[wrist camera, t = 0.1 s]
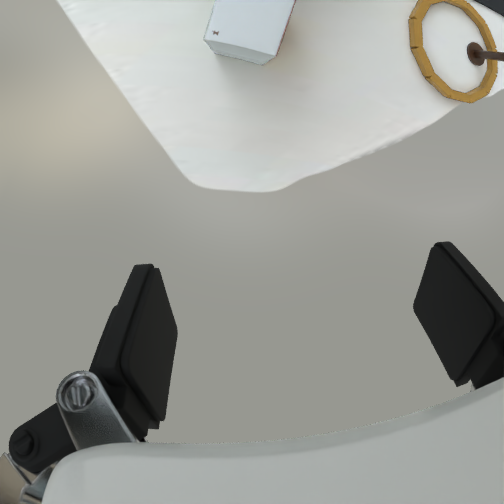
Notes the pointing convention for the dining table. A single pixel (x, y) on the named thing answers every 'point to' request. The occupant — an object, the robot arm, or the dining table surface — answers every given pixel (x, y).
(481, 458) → the robot arm
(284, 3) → the small box
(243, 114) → the dining table surface
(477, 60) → the post
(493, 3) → the mat
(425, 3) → the ring
